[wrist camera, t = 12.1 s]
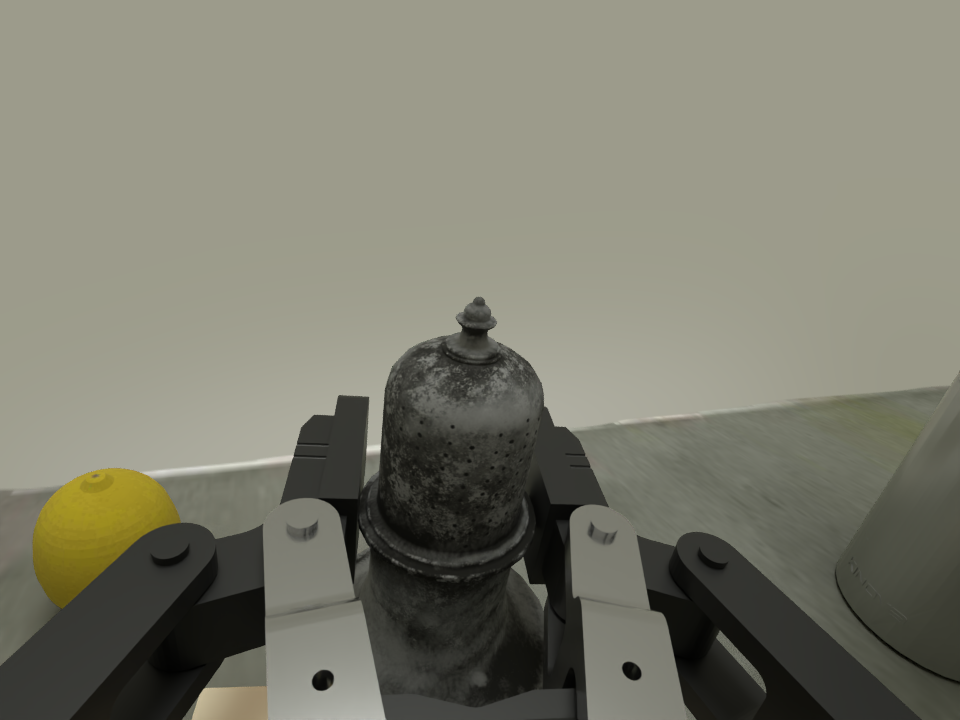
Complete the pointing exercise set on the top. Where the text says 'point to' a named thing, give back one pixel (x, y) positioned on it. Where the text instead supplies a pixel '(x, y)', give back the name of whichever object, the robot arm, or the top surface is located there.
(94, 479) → the lemon
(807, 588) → the top surface
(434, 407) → the salt shaker
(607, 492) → the top surface
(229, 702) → the birch board
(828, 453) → the top surface
